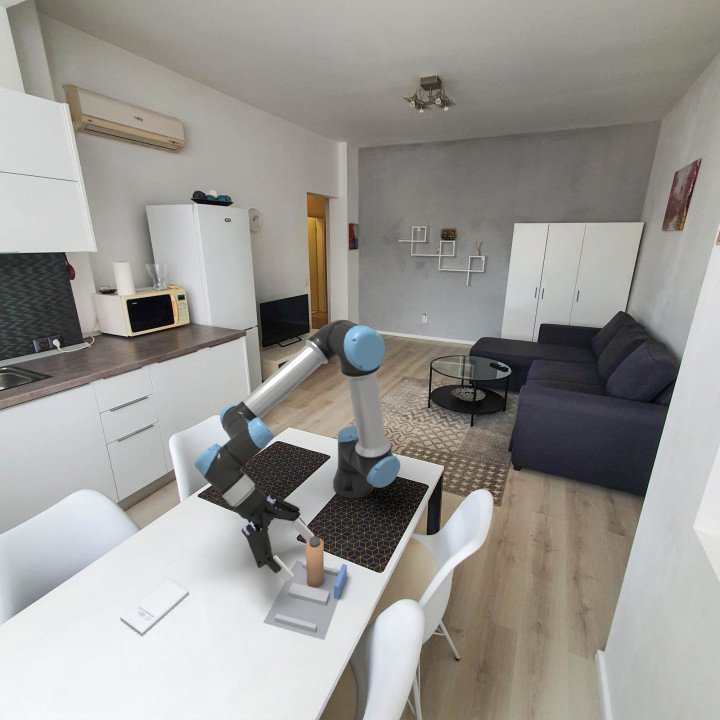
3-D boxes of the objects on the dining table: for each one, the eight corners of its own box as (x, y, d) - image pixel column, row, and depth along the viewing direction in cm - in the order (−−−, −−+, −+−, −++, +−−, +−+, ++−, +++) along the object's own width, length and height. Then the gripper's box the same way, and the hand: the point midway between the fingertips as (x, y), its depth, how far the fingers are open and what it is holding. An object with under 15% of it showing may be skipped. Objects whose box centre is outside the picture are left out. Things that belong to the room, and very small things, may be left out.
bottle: (319, 571, 102) (319, 531, 99) (326, 583, 99) (326, 543, 95) (304, 578, 100) (303, 537, 97) (310, 590, 97) (309, 549, 93)
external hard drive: (189, 596, 97) (142, 638, 86) (168, 582, 100) (120, 621, 90) (188, 591, 96) (141, 632, 86) (167, 578, 100) (119, 616, 89)
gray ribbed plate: (263, 626, 89) (262, 609, 87) (296, 563, 106) (296, 548, 105) (324, 643, 85) (323, 626, 84) (348, 576, 103) (348, 560, 101)
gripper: (260, 477, 110) (309, 530, 111) (206, 537, 87) (269, 604, 88) (276, 463, 108) (326, 518, 108) (225, 522, 84) (290, 591, 85)
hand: (301, 557), depth 98 cm, fingers open, 13 cm apart
